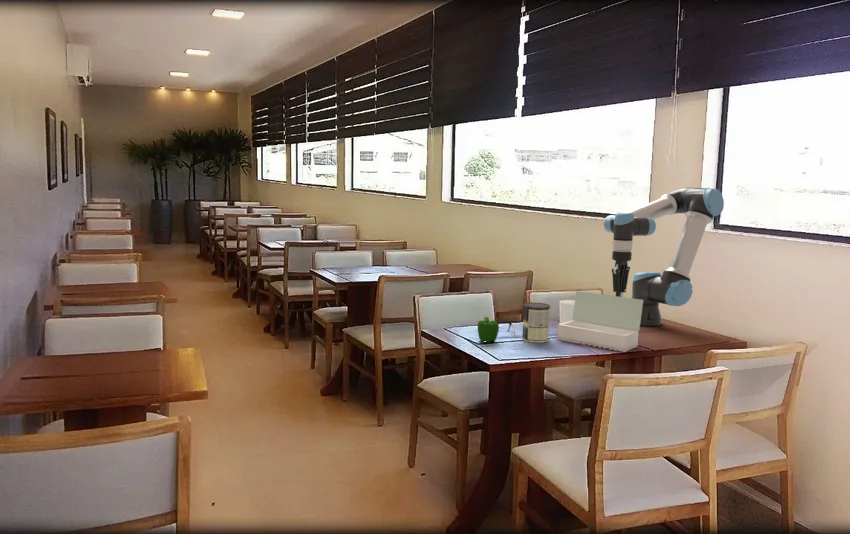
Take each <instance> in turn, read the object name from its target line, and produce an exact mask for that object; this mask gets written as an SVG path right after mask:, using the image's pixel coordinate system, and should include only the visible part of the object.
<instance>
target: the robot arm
mask: <svg viewBox="0 0 850 534" xmlns="http://www.w3.org/2000/svg"><path fill="white" fill-rule="evenodd" d="M724 205H725V201H724V197H723V195H722V192H720V190H718V189H717V188H711V187H683V188H679V189H676V190H673V191H671V192H668V193H665V194H663V195H662V196H661V197H660V198H659V199H656V200H654V201H651V202H649V203H645V204H644V205H641V206H638V207H636V208H633V209H631V210H628V211H625V212H616V213H614V214H611V215H607V216H606V217H605V219H604V221H603V228H604V230H605V231H606V232H608V233H612V234H613V239H612V242H611V243H612V250H613V251H612V254H611V256H612V257H611V259H612V261H615V263H614V268H611V273H612V292H613V293H615V295H614V296H617V297H624V293H627V286H628V280H629V273H630V270H631V267H630V266H629V264H628V263H629V262H630V261H632V255H633V254H632V250H633V239H634V236H637V237H640V236H641V237H642V236H643V237H647V236H651V235H653V234H654V233H655V231H656V227H657V226H656V225H657V224H656V221H655V220H657V219H659V218H662V217H663V216H666V215H667V216H672V215H674V214H684V215H685V217H686V220H685V223H684V225H683V228H682V231H681V234H680V236H679V238H678V242H677V245H676V247H675V250H674V252H673V255H672V258H671V261H670V264H669V266H668V268H666V269H665V270H663V271H662V273H661V272H660V271H649V272H648V271H645V272H644V271H642V272H635V273H634V275H633V279H632V286H631V287H632V289H631V290H632V291H631V293H632V294H631V298H632V299H640V300H643V306H642V314H641V321H640V326H644V327H655V326H656V327H657V326H661V325H662V322H663V321H662V320H663V319H662V315H661V312H660V308H659V304H662V305H667V306H669V307H670V306H671V307H682V306H684V305H686V304H687V303H688V302H689V301H690V299H691V297H692V295H693V285H692V283H691V280H692V279H691V277H690V275H689V274H690V272H691V269H692V266H693V264H694V261H695V259H696V255H697V252H698V251H699V250H698V249H699V247H700V244H701V241H702V239H703V238H704V234H705V231H706V229H707V225H708V224H710V223H712V222H713V220H714V218H715V217H717V216H719V215H721V214H722V212H723V210H724V207H725V206H724Z"/></svg>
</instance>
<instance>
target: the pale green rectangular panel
mask: <svg viewBox="0 0 850 534" xmlns="http://www.w3.org/2000/svg"><path fill="white" fill-rule="evenodd" d="M574 300H575V304H574V312H573V319H572V320H575V321H581V322H586V323H592V324H598V325H604V326H610V327H616V328H623V329H629V330H635V331H638V332H639V331H640V328H641V325H640V321H641V314H642V306H643V300H640V299H632V297H631V298H630V297H624V296H623V297H617V296H615V295H609V294H608V295H607V294H600V293H595V292H587V291H578V290H576V291H575V298H574Z"/></svg>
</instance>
